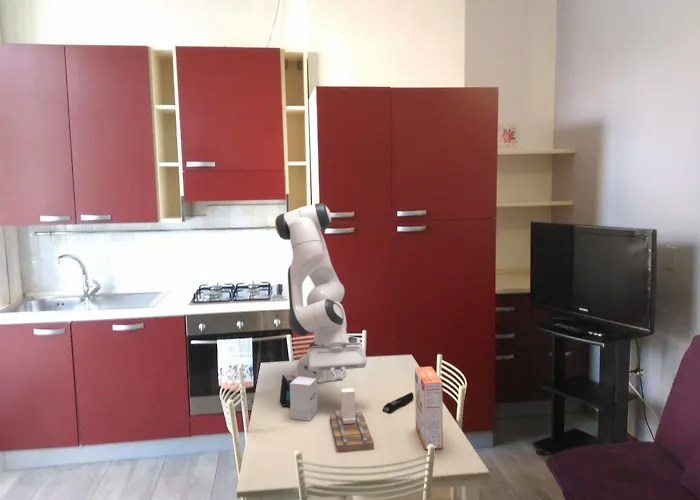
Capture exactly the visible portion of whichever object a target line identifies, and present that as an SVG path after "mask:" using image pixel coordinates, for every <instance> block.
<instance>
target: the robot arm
mask: <svg viewBox="0 0 700 500" xmlns="http://www.w3.org/2000/svg"><path fill="white" fill-rule="evenodd" d="M274 222H275V223H274V226H275V231H276V233H277V235H278V236H279V238H280V239H282V240H285V241H287V240H290V244H291V250H292V260H291V264H290V266H289V267H288V269H287V286H288V302H289V316H288V317H289V318H288V323H289V327H290V330H291V331H292V332H293V333H295V334H297V335H298V336H301V337H305V336H308V335H309V334H312V333H313V341H312V342H311V343H310V344H308V349H307V350H306V351H307V352H306V353H305V354H304V355H303V356H301V357H300V358H299V359H298V361H297V366H296V368H294V370H293V371H292V372H291V377H292V378H295V379H296V378H297V377H298V376H299V377H312V378H317V384H318V383H319V384H320V383H326V382H332V381H334V382H339V381H340V382H342V381H344V377H345V376H346V375H347V374H346V370H350V369H352V370H353V369H364V368H366V366H367V357H366V352H365V348H364V347H363V346H362V343H361V342H362V341H361V338H359V337H355V336H351V335H349V334H348V332H347V326H348V325H347V318H346V312H345V309H344V307H343V304H341V302H342V300H343V299H344V296H345V286H344V285H343V283H341V282H340V280H339V278H338V275H337V273H336V272H335V269H334V267H333V265H332V262H331V258H330V254H329V251H328V247H327V244H326V241H325V239H324V236H323V234H322V231H323V233H325V232H326V230H327V229H328V228H330V225H331V223H332V214H331V211H330V209H329V207H327V205H326V204H324V202H322V203H321V202H320V203H314V204H310V205H304V206H300V207H299V208H296V209H293V210H290V211H287V212H285V213H281V214H278V215H277V216H276V218H275V221H274ZM308 277H309V279H310V280H311V282H312V285H313V286H314V287H313V288H312V289H311V290H310V292H309V293H308V294H307V295H308V296H307V297H306V304H307V305H305V306H304V299H303V298H304V295H303V283H304V282H305V280H306V278H308Z"/></svg>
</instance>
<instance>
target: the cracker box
mask: <svg viewBox="0 0 700 500" xmlns="http://www.w3.org/2000/svg"><path fill="white" fill-rule="evenodd" d="M414 387H415V389H414V391H415V392H414V393H415V394H414V395H415V398H414V399H415V402H414V403H415V404H414V405H415V406H414V407H415V429H416V431H417V435H418V437H419V439H420V441H421V444H422V447H423V449H424V450H428V449H427V446H428V445H429V444H433V445H435V446H436V449H435V450H437V449H439V450H440V449H441V450H442V449H443V447H444V441H443V440H444V439H443V437H444V434H443V433H444V431H443V430H444V428H443V423H444V422H443V417H444V415H443V412H444V411H443V382H442V380H441V379H440V377H439V375H438V374H437V373H436V371H435V370H434V368H433V366H416V367H414Z"/></svg>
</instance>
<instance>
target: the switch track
mask: <svg viewBox="0 0 700 500" xmlns="http://www.w3.org/2000/svg"><path fill="white" fill-rule="evenodd" d="M341 414H342V412H341V413H340V411H339V410H335V413H330V414H329V422H330V426H331V430H332V435H333V439H334V443H335V448H336V451H337V453H342V452H353V451H354V452H355V451H366V450H367V451H368V450H374V449H375V445H374V444H375V441H374V439H373V437H372V435H371V432H370V429H369V427H368V426H369V425H368V424H367V421H366V418H365V416H364V414H363V411H357V409H356V408H355V419H356V423H351V424H343V421H342V418H341Z"/></svg>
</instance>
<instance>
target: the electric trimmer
mask: <svg viewBox="0 0 700 500" xmlns="http://www.w3.org/2000/svg"><path fill="white" fill-rule="evenodd" d="M414 399H415V398H414V393H413V392H412V391H411V392H409V393H407V394H405V395H402V396H401V397H398V398H396V399H394V400H392V401H390V402H387V403H386V404H385V405H383V408H382V412H383V413H385V414H393V411H395V410H397V409H398V408H400V407H402V406H403V407H405V406H406V405H407V404H409V403H410V402H412V401H413V400H414Z"/></svg>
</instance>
